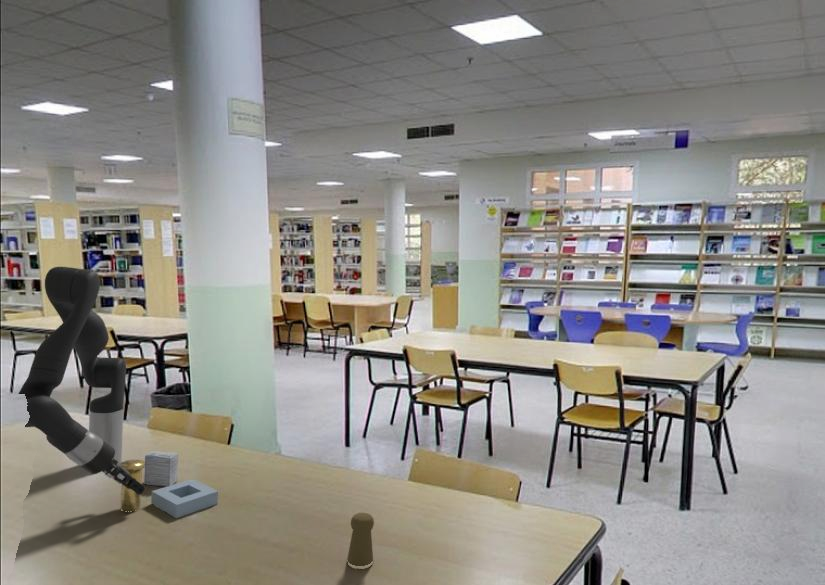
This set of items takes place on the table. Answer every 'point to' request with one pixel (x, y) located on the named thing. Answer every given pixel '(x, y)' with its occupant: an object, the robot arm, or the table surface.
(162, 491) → the jig
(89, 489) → the table surface
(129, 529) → the table surface
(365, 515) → the cork
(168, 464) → the medicine box
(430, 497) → the table surface
